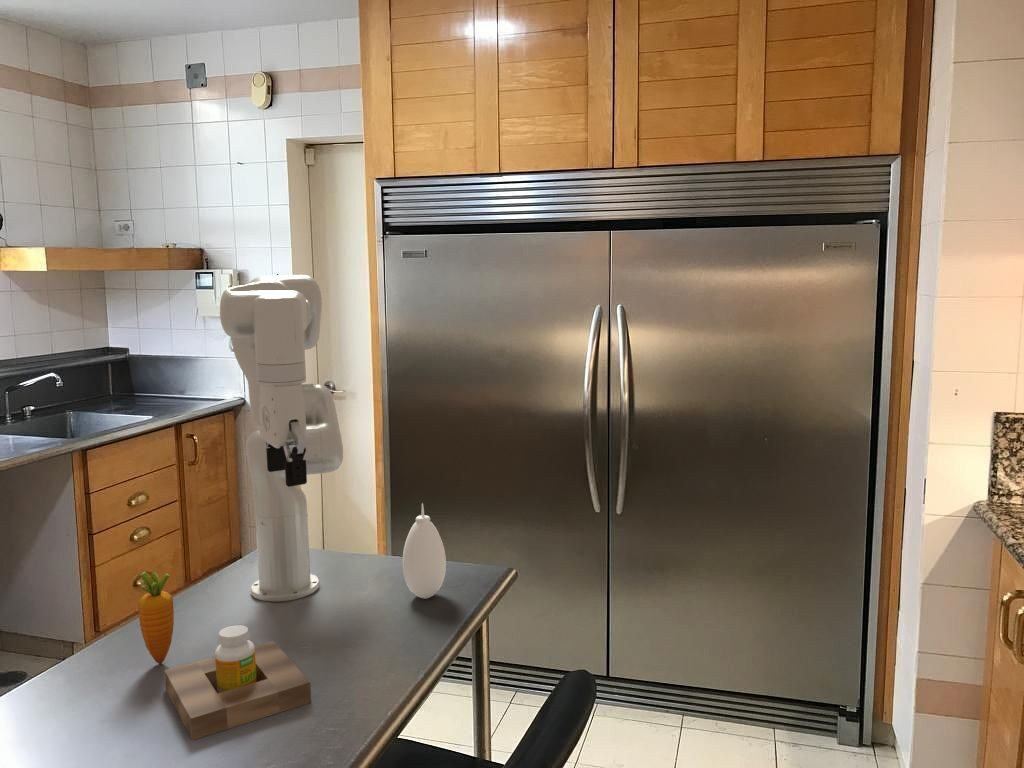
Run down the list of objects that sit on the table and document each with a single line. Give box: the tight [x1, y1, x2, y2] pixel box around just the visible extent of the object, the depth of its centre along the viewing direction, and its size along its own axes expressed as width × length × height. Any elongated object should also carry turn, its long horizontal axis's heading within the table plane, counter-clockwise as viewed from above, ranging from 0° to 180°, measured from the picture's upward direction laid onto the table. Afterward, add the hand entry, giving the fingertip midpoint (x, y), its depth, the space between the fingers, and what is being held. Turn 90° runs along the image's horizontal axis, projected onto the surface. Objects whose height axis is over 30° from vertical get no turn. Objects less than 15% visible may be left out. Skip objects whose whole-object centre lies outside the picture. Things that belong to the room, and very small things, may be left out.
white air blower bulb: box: [402, 502, 447, 599], centre depth 150 cm, size 8×8×18 cm
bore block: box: [164, 640, 312, 741], centre depth 116 cm, size 16×16×3 cm
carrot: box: [137, 571, 175, 665], centre depth 126 cm, size 5×5×15 cm
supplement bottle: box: [214, 624, 257, 694], centre depth 116 cm, size 5×5×10 cm
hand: (286, 477), depth 132 cm, fingers open, 9 cm apart
